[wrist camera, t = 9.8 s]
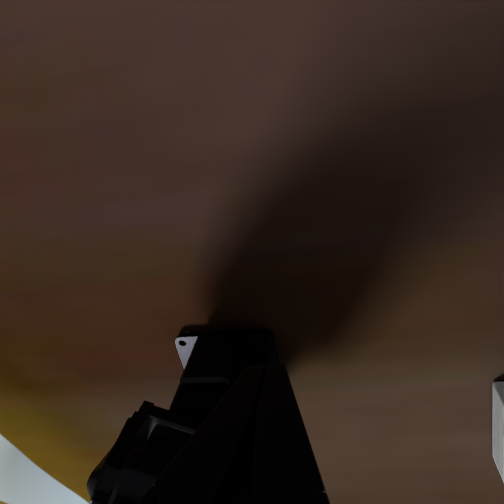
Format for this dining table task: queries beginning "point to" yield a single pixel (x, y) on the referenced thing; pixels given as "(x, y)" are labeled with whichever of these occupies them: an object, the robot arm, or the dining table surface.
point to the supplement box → (498, 426)
